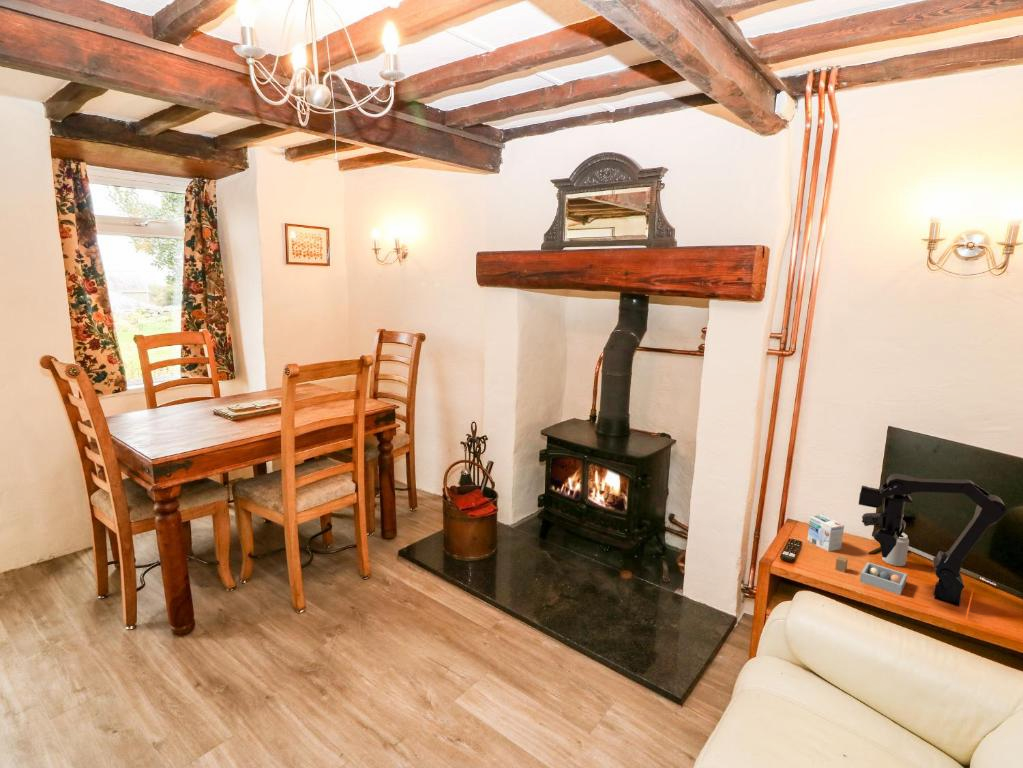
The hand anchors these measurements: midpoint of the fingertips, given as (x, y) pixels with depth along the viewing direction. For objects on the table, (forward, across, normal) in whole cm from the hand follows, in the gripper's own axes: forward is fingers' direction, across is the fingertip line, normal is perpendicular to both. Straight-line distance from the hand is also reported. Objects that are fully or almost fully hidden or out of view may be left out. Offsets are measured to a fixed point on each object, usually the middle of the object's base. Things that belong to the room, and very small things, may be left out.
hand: (886, 552), depth 192 cm
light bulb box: (+12, -16, -23) cm, 31 cm away
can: (+12, -20, 0) cm, 23 cm away
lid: (+13, 0, -13) cm, 18 cm away
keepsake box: (+12, 0, 0) cm, 12 cm away
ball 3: (+12, -3, +3) cm, 12 cm away
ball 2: (+12, -2, 0) cm, 12 cm away
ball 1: (+12, -3, -3) cm, 12 cm away
